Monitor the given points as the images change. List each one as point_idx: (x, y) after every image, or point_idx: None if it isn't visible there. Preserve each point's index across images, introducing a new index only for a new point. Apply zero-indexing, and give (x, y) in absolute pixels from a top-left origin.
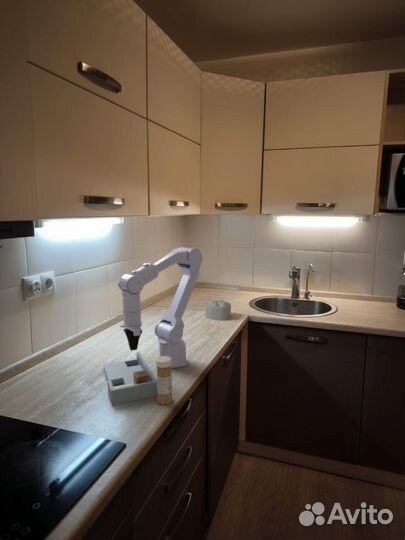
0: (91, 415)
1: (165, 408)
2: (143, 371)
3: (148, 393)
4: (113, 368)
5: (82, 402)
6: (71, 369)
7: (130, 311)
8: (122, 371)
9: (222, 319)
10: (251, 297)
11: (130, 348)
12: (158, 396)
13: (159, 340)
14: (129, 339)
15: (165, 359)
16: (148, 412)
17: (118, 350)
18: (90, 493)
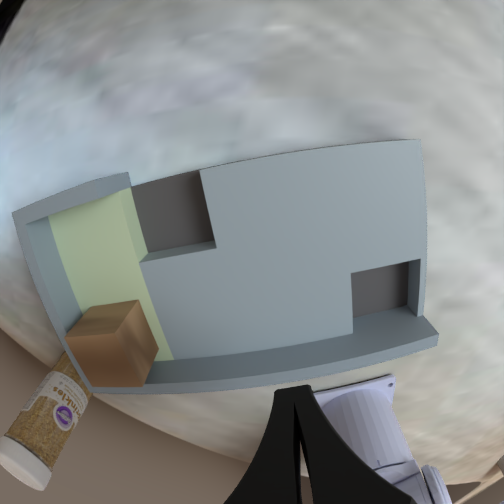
0: (11, 139)
1: (49, 357)
2: (126, 375)
3: None
4: (356, 194)
5: (85, 76)
6: (427, 6)
7: None
8: (299, 246)
9: (502, 459)
10: None
11: (274, 402)
12: (59, 363)
13: (389, 473)
14: (243, 483)
15: (12, 472)
16: (27, 314)
17: None
18: None
